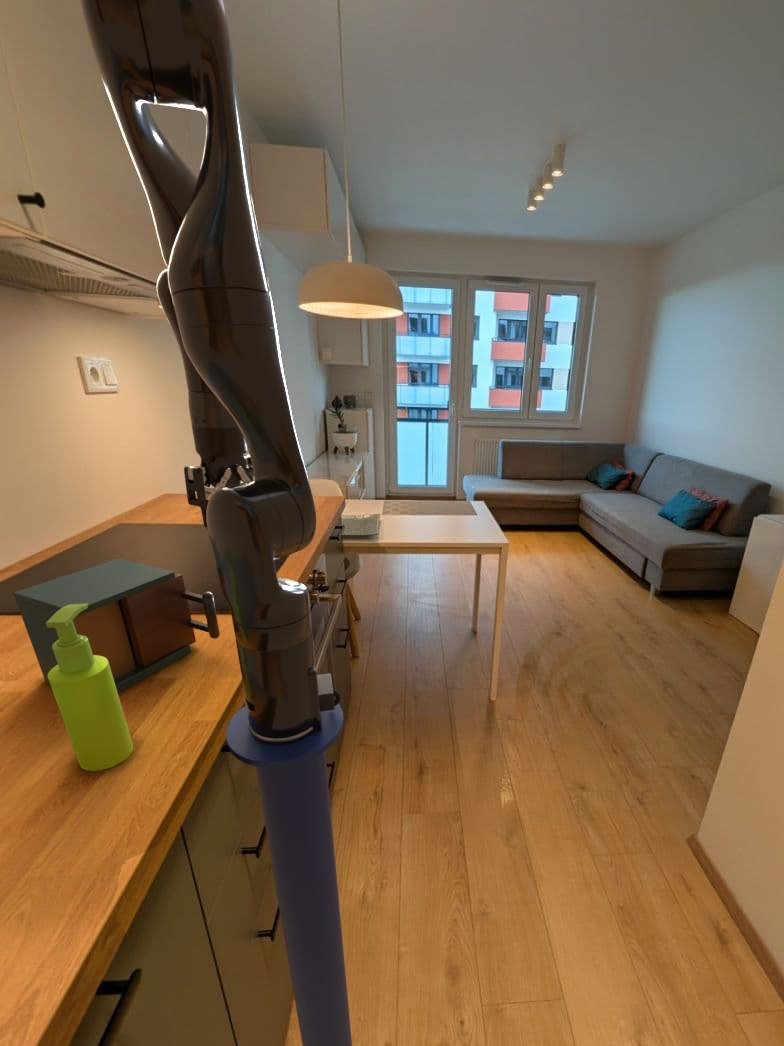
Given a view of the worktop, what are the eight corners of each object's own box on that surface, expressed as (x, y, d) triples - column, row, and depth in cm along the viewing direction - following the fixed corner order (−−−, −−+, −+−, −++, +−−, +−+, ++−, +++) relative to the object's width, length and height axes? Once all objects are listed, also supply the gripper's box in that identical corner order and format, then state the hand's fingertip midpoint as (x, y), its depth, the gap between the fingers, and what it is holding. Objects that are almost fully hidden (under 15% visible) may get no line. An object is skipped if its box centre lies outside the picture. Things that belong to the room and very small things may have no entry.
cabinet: (191, 652, 88) (174, 571, 81) (101, 702, 74) (72, 611, 68) (138, 635, 92) (118, 558, 86) (44, 680, 79) (12, 592, 72)
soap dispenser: (143, 732, 69) (105, 599, 60) (122, 768, 63) (77, 626, 54) (95, 735, 68) (50, 601, 59) (69, 773, 62) (15, 629, 53)
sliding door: (224, 649, 87) (212, 581, 82) (173, 679, 79) (156, 605, 73) (191, 639, 90) (176, 572, 85) (138, 667, 82) (118, 595, 76)
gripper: (201, 429, 72) (218, 538, 79) (268, 420, 84) (277, 515, 91) (161, 424, 74) (181, 531, 81) (231, 416, 86) (243, 509, 93)
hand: (232, 522), depth 86 cm, fingers open, 8 cm apart
